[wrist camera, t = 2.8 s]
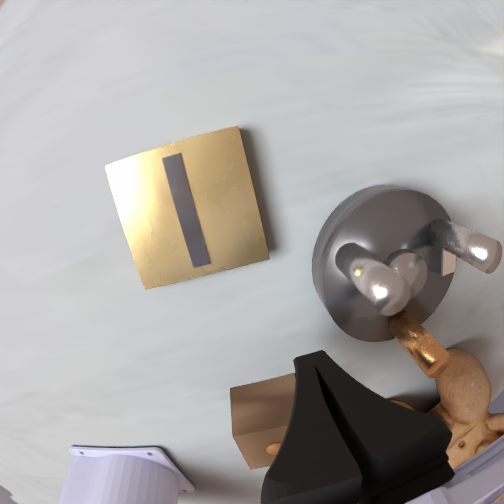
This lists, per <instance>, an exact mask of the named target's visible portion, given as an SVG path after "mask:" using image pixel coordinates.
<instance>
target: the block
mask: <svg viewBox="0 0 504 504" xmlns="http://www.w3.org/2000/svg"><path fill="white" fill-rule="evenodd" d="M295 382H296V379H295V376H294V373H292V374H288V375H284V376H281V377H277V378H273V379H269V380H264V381H260V382H256V383H251V384H247V385H242V386H238V387H233V388H230V400H231V418H232V434H233V438H234V440H235V442H236V444H237V446H238V448H239V449H240V451H241V453H242V455H243V457H244V459H245V460H246V462H247V464H248V466H249V468H250V469H256V468H262V467H267V466H271V464H272V463H273V461H274V459H275V457H276V455H277V453H278V451H279V448H280V446H281V444H282V442H283V439H284V436H285V433H286V430H287V427H288V424H289V420H290V417H291V412H292V408H293V401H294V395H295Z"/></svg>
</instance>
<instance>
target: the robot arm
mask: <svg viewBox="0 0 504 504" xmlns="http://www.w3.org/2000/svg"><path fill="white" fill-rule="evenodd" d="M293 361H294V366H295V373H296V382H295V395H294V401H293V408H292V412H291V417H290V420H289V424H288V427H287V430H286V433H285V436H284V439H283V442H282V444H281V446H280V448H279V451H278V453H277V455H276V457H275V459H274V461H273V463H272V464H271V466H270V468H269V470H268V471H267V473H266V475H265V478H264V482H263V487H262V492H261V504H491V503H493V502H494V501H495V500H497V499H498V498H499V497H500V496H502V495H503V494H504V435H502V436H501V437H500V438H498V439H497V440H496V441H494V442H493V443H492V444H490V445H489V446H488V447H486V448H485V449H483V450H482V451H481V452H479V453H478V454H476V455H475V456H473V457H472V458H470V459H469V460H467V461H465V462H464V463H462V464H461V465H459V466H457V467H456V468H454V469H452V467H451V466H450V464H449V463H448V460H449V456H448V455H447V453H446V450H447V448H448V446H449V444H450V442H451V439H452V435H453V434H452V431H451V430H450V429H449V427H448V426H447V425H446V423H445V422H444V421H443V420H442V419H441V418H440V417H439V416H436V415H431V414H427V413H423V412H418V411H415V410H412V409H409V408H406V407H404V406H401V405H399V404H396V403H394V402H392V401H389V400H388V399H386V398H384V397H382V396H380V395H378V394H376V393H375V392H373V391H371V390H370V389H368V388H366V387H365V386H364V385H362V384H361V383H359V382H358V381H356V380H355V379H354V378H353V377H351V376H350V375H349V374H348V373H346V372H345V371H344V370H343V369H342V368H341V367H339V366H338V365H337V364H336V363H335V362H334V361H333V360H332V359H331V358H330V357H329V356H328V355H327V354H326V352H325V351H323V350H321V351H317V352H314V353H310V354H307V355H303V356H299V357H296V358H295V359H294V360H293ZM69 451H70V452H71V453H72V454H73V455H74V457H73V459H72V462H71V465H70V468H69V471H68V474H67V477H66V480H65V483H64V486H63V489H62V492H61V496H60V499H59V504H177V500H178V493H189V492H194V491H195V487H194V486H193V485H192V484H191V483H190V482H189V481H188V480H187V479H186V477H185V476H184V475H183V474H182V473H181V472H180V471H179V470H178V468H177V467H176V466H175V465H174V464H173V463H172V461H171V460H170V459H169V458H168V457H167V455H166V454H165V453H164V452H163V451H162V450H161V449H160V448H157V447H148V448H92V447H75V446H70V448H69Z"/></svg>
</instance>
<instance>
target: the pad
mask: <svg viewBox="0 0 504 504" xmlns="http://www.w3.org/2000/svg"><path fill="white" fill-rule="evenodd" d="M105 167H106V171H107V175H108V179H109V182H110V186H111V189H112V193H113V196H114V200H115V203H116V207H117V210H118V213H119V216H120V220H121V223H122V226H123V229H124V232H125V235H126V238H127V241H128V244H129V247H130V250H131V253H132V255H133V258H134V261H135V264H136V267H137V269H138V272H139V275H140V277H141V280H142V283H143V285H144V288H145V290H147V289H151V288H156V287H160V286H164V285H168V284H172V283H176V282H180V281H184V280H188V279H192V278H196V277H200V276H204V275H208V274H212V273H217V272H221V271H225V270H229V269H233V268H237V267H240V266H244V265H248V264H252V263H256V262H260V261H264V260H268V259H270V257H269V253H268V249H267V244H266V240H265V235H264V231H263V227H262V222H261V218H260V214H259V210H258V205H257V201H256V197H255V193H254V188H253V184H252V180H251V176H250V172H249V167H248V163H247V159H246V155H245V151H244V147H243V143H242V139H241V134H240V130H239V126H235V127H231V128H227V129H223V130H219V131H215V132H211V133H207V134H203V135H200V136H196V137H192V138H189V139H185V140H182V141H178V142H175V143H172V144H168V145H165V146H162V147H159V148H156V149H152V150H149V151H146V152H143V153H140V154H137V155H135V156H132V157H129V158H126V159H123V160H120V161H118V162H115V163H112V164H110V165H107V166H105Z"/></svg>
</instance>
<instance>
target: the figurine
mask: <svg viewBox="0 0 504 504" xmlns="http://www.w3.org/2000/svg"><path fill="white" fill-rule="evenodd" d="M446 351H447V352H448V353H449V354H450V355H451V361H450V364H449V366H448V367H447V369H446V370H445V371H444V372H443V373H442V374H440V375H439V376H437V377H435V381H436V386H437V390H438V393H439V394H440V397H441V401H440V402H439V403H438V404H437V405H436V406H435V407H434V408H433V409H432V410H430V411H429V412H427V414H431V415H436V416H439V417H440V418H441V419H442V420H443V421H444V422H445V423H446V425H447V426H448V427H449V429H450V430H451V431H452V434H453V435H452V439H451V442H450V444H449V446H448V448H447V450H446V453H447V455H448V456H449V460H448V463H449V464H450V466H451V467H452V469H454V468H456V467H457V466H459V465H461V464H462V463H464V462H465V461H467V460H469V459H470V458H472V457H473V456H475V455H476V454H478V453H479V452H481V451H482V450H483V449H485V448H486V447H488V446H489V445H490V444H492V443H493V442H494V441H496V440H497V439H498V438H500V437H501V436H502V435H504V413H495V414H490V413H489V412H488V407H489V404H490V398H491V385H490V382H489V378H488V376H487V374H486V372H485V370H484V369H483V367H482V365H481V364H480V362H479V361H478V360H477V359H476V358H475V357H473V356H472V355H470V354H468V353H466V352H464V351H461V350H458V349H448V350H446ZM389 401H392V402H394V403H396V404H399V405H401V406H404V407H406V408H409V409H412V410H414V409H413V408H412V407H411V406H409V405H408V404H407V403H404V402H400V401H395V400H389ZM503 498H504V494H503V495H502V496H500V497H499V498H498V499H497V500H495V501H494V502H498V501H499V500H501V499H503ZM494 502H493V503H494Z"/></svg>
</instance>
